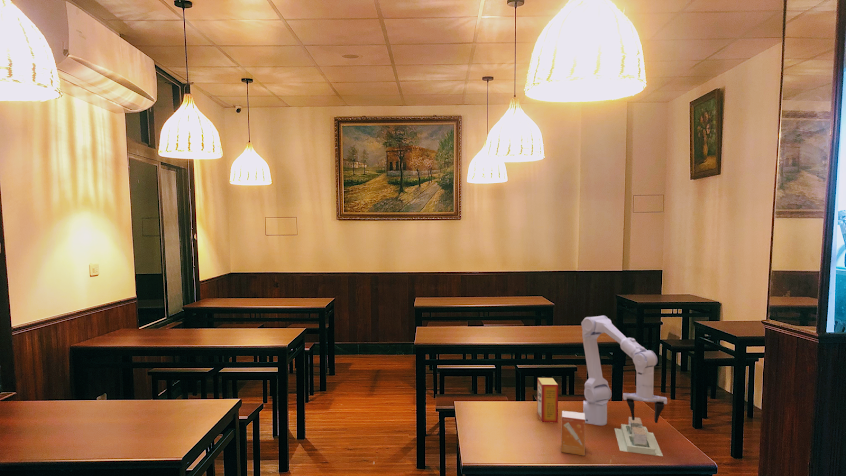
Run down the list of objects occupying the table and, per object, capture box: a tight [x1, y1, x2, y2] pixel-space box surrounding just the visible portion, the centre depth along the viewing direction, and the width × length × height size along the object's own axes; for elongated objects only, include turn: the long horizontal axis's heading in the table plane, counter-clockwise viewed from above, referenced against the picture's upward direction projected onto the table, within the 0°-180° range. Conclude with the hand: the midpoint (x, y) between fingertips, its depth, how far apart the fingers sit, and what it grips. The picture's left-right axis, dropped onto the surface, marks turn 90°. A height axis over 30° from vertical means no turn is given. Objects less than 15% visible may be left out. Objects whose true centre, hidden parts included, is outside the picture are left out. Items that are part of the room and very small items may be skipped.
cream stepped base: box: [614, 423, 664, 457], centre depth 175 cm, size 14×20×3 cm
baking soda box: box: [536, 377, 559, 424], centre depth 199 cm, size 10×6×16 cm
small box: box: [560, 410, 586, 457], centre depth 170 cm, size 8×6×13 cm
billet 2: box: [632, 427, 647, 447], centre depth 171 cm, size 4×6×6 cm, turn 163°
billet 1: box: [628, 416, 643, 434], centre depth 180 cm, size 4×6×6 cm, turn 163°
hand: (644, 420), depth 173 cm, fingers open, 7 cm apart
